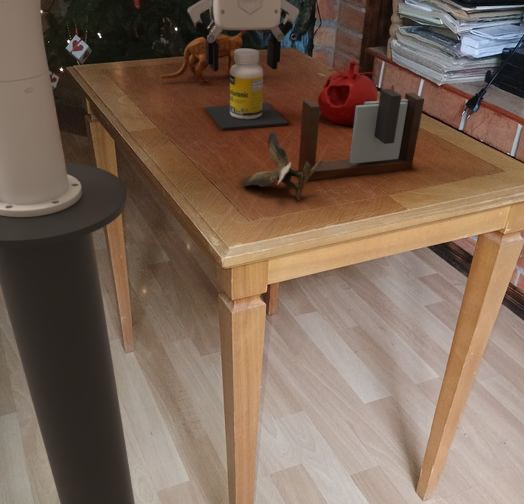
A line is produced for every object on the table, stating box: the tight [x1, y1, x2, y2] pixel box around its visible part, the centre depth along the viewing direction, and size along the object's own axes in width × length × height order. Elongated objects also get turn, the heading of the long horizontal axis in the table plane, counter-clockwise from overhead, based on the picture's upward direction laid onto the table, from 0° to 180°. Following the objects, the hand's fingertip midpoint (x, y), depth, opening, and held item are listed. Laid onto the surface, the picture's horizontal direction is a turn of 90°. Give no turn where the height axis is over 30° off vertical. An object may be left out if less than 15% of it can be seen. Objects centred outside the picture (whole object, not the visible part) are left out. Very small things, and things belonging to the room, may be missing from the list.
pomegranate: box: [317, 59, 378, 126], centre depth 100 cm, size 10×10×9 cm
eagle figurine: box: [243, 131, 323, 201], centre depth 78 cm, size 8×7×9 cm
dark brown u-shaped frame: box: [297, 92, 425, 182], centre depth 83 cm, size 16×3×10 cm, turn 108°
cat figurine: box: [160, 30, 247, 83], centre depth 115 cm, size 18×7×14 cm, turn 111°
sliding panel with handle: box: [349, 88, 408, 164], centre depth 81 cm, size 7×4×10 cm, turn 108°
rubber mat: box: [205, 102, 289, 131], centre depth 103 cm, size 11×11×1 cm
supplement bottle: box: [229, 48, 264, 120], centre depth 99 cm, size 5×5×10 cm
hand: (243, 68), depth 98 cm, fingers open, 9 cm apart
